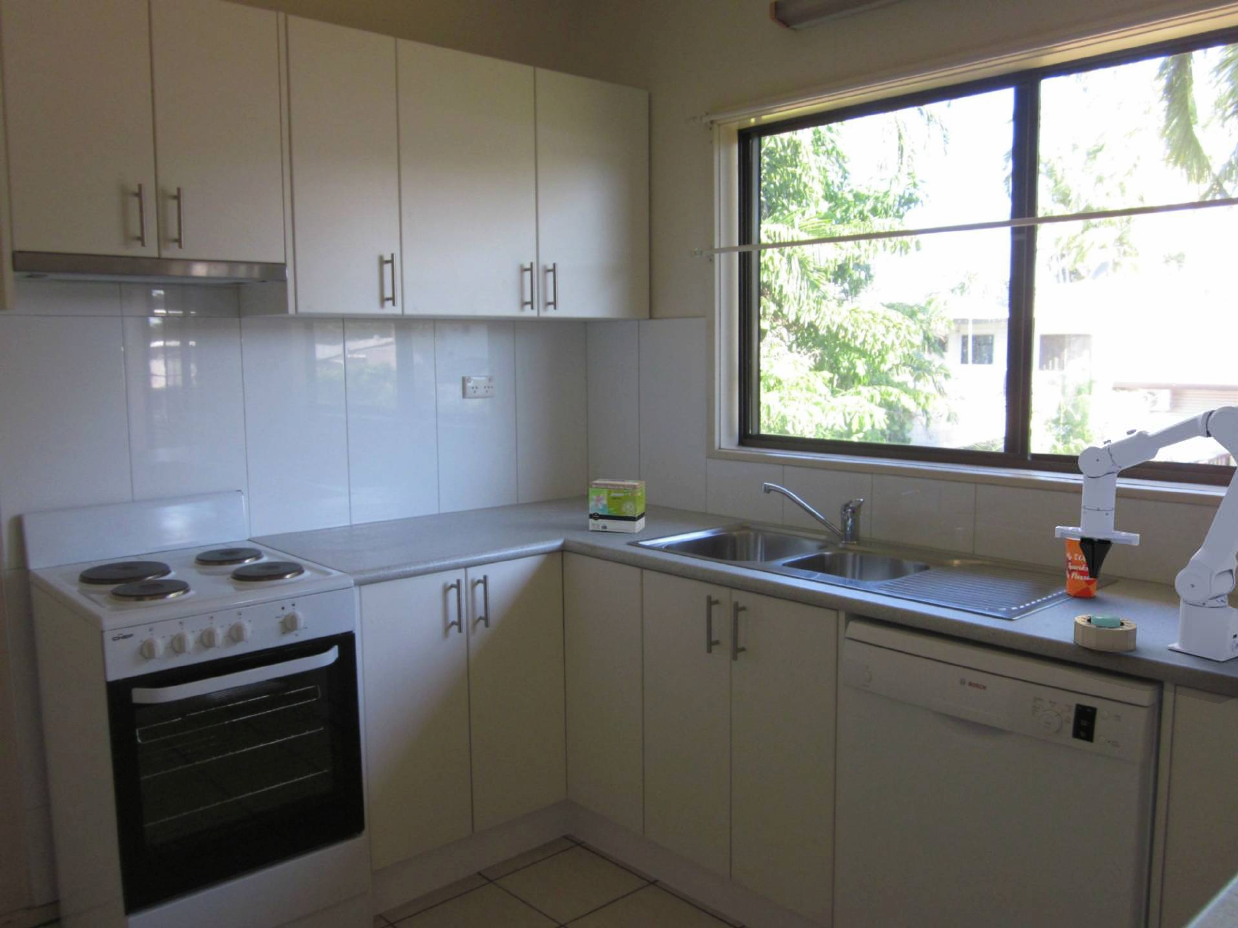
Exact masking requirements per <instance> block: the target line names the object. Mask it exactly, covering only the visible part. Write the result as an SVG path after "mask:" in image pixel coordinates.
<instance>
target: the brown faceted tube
mask: <svg viewBox="0 0 1238 928" xmlns="http://www.w3.org/2000/svg"><path fill="white" fill-rule="evenodd" d="M1091 615H1092V614H1082V615H1079V616H1075V617H1074V624H1073V625H1074V628H1073V643H1075V644H1076V643H1077V644H1076V645H1079V646H1080V647H1083V648H1086V649H1091V650H1094V651H1100V652H1109V653H1127V651H1128V652H1131V651H1134V650H1136V646H1137V623H1136V622H1133V621H1132V620H1129V619H1127V618H1122V617H1120V618H1121V622H1120V627H1105V626H1098V625H1094V624H1091ZM1130 650H1131V651H1130Z"/></svg>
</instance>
